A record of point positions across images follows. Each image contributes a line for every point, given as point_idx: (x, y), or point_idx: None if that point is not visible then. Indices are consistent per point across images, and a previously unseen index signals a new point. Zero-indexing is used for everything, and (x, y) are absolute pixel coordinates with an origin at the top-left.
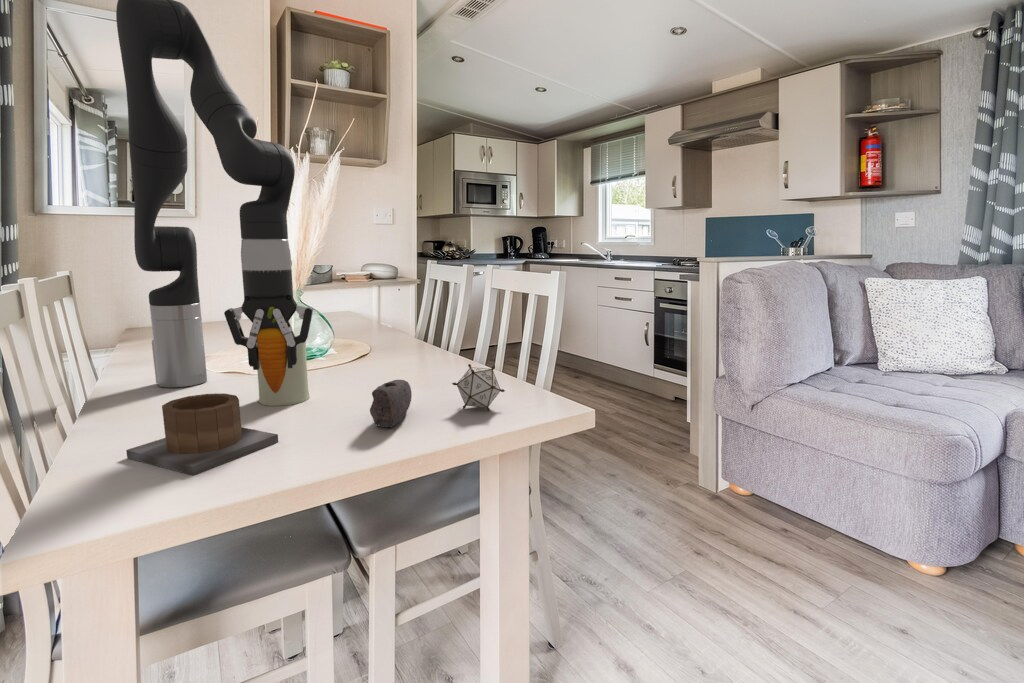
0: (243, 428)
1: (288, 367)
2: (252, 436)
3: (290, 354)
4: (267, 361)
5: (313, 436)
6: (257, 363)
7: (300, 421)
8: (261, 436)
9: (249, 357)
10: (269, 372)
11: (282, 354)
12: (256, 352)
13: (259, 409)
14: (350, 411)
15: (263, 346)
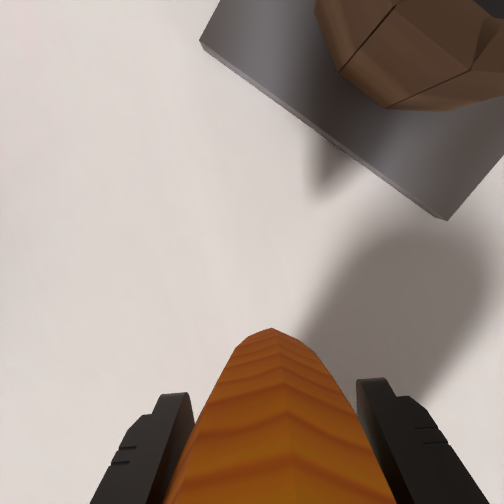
0: (336, 131)
1: (183, 393)
2: (282, 26)
3: (134, 463)
4: (293, 384)
5: (107, 96)
6: (368, 410)
7: (192, 259)
8: (250, 21)
9: (441, 446)
10: (283, 349)
11: (187, 453)
12: (401, 478)
13: (345, 391)
14: (69, 335)
15: (341, 501)
